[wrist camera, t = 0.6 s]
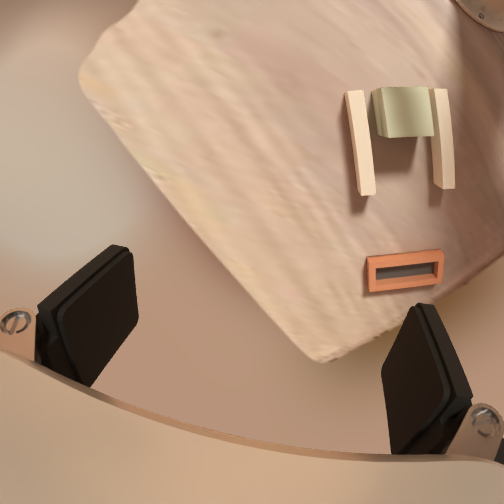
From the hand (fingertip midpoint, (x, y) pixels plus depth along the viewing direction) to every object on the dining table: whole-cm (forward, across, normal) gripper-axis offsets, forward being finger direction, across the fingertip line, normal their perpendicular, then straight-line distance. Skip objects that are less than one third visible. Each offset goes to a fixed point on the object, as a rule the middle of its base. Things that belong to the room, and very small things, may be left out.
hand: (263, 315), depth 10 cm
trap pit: (+27, -15, +10) cm, 33 cm away
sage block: (+28, -10, -9) cm, 30 cm away
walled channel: (+27, -11, -6) cm, 30 cm away
